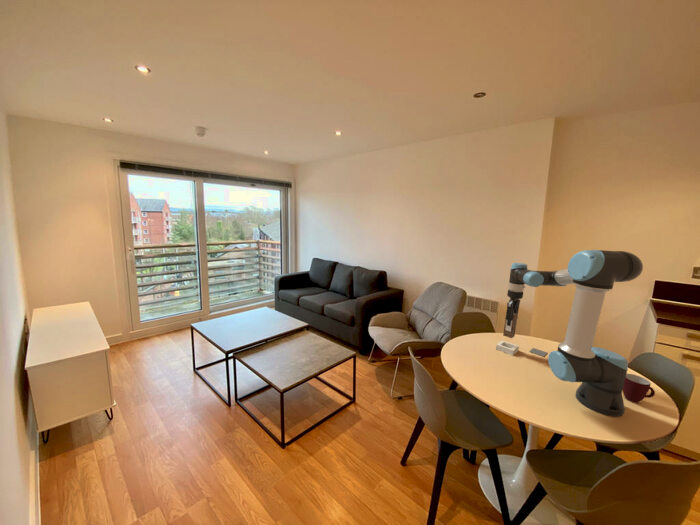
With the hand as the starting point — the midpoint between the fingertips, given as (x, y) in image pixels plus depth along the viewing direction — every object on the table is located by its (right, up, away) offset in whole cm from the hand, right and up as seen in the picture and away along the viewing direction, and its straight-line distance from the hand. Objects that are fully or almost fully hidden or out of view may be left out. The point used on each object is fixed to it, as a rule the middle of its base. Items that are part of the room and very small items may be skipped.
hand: (509, 329), depth 157 cm
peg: (0, -4, +1) cm, 4 cm away
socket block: (-1, -13, +2) cm, 13 cm away
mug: (+31, -21, -39) cm, 54 cm away
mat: (+17, -13, +1) cm, 21 cm away
